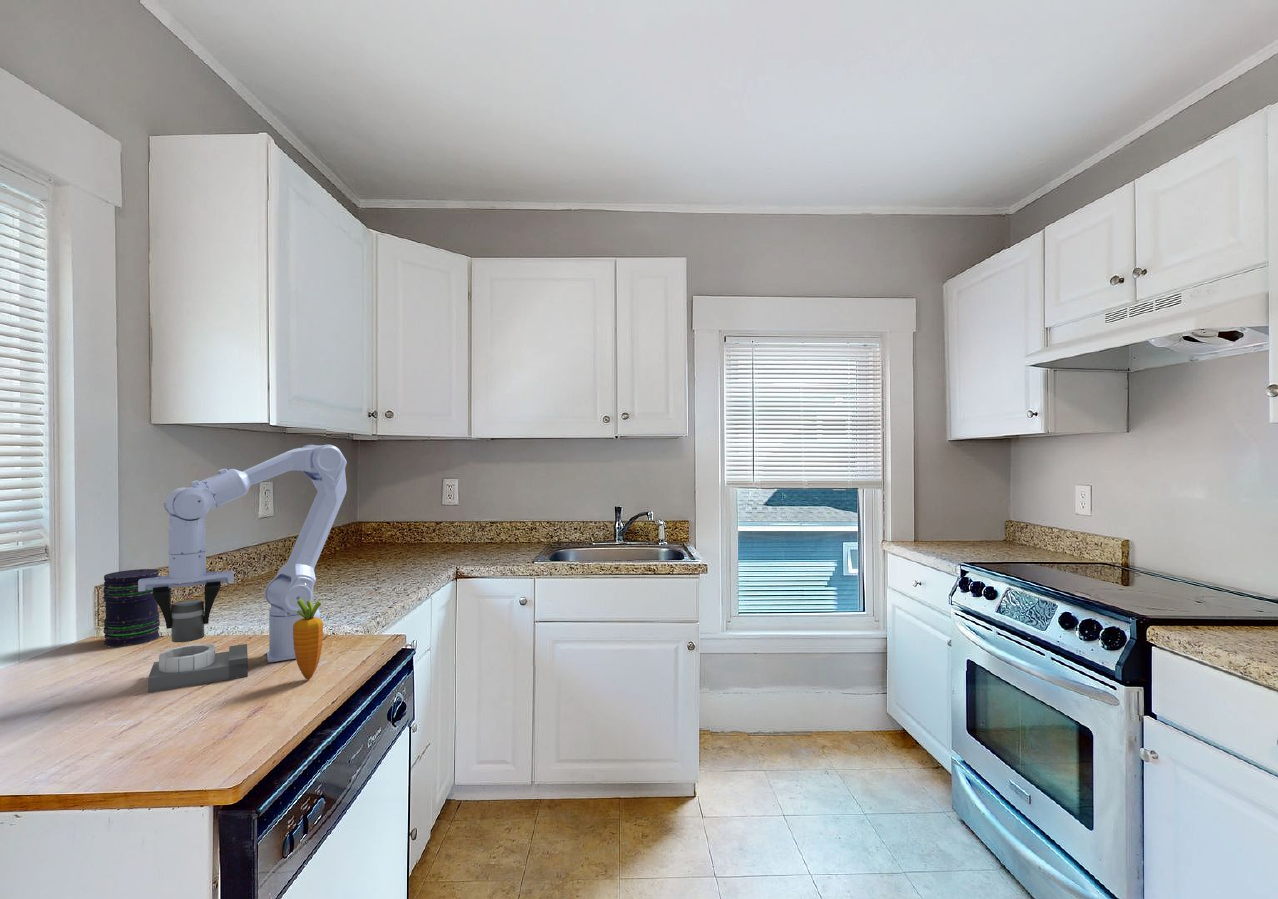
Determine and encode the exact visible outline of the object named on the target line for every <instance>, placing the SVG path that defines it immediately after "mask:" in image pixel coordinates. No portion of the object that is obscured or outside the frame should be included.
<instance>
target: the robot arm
mask: <svg viewBox="0 0 1278 899" xmlns="http://www.w3.org/2000/svg"><path fill="white" fill-rule="evenodd" d="M347 464H348V461H347V459H346V458H345V456H344V454H343V453H342V451H341V450H340V449H339V448H338V447H337V446H335V445H332V444H324V445H322V444H321V445H318V444H317V445H315V444H306V445H303V446H302V447H297V448H292V449H290V450H287V451H285V452H283V453H281V454H278V455H276V456H274V457H272V458H269V459H268V460H264V461H263V462H260V463H258V464H256V465H254V466H251V467H249V468H247V469H244V470H243V471H241V470H238V469H235V468H230V469H227V468H222V469H219V470H217V474H214V475H212V476H210V477H207V478H205V479H203V480H200V481H199V480H193V481H191V482H190V485H191V486H190V487H178V488H175V489H174V490H172V491H171V492H170V493H169V494H168V495H167V497H166V499H165V502H163V508H164V510H165V512H166V513H167V514H168V530H167V531H168V537H167V538H168V575H163V576H158V577H155V578H147V579H139V581H138V592H140V591H146V590H153V594H152V595H153V597H154V599H155V600H156V602H157V603H158V608H160V610H161V613H162V616H163V619H164V622H165V626H166V630H168V629H171V605H172V589H173V588H181V587H182V588H184V587H193V586H204V625H208V624H209V621H210V616H211V615H210V614H211V610H212V607H213V604H214V602H215V600H216V597H217V595H218V594H219V592H220V590H221V584H223V583H228V584H229V583H230V584H232V583H234V582H235V576H234V575H235V574H234V573H235V571H234V570H226V571H207V535H206V534H207V529H206V528H207V527H206V515H208V513H209V512H210V510H214V509H216V508H219V507H221V506H223V505H225V504H228V503H230V502H232V501H235V500H237V499H240V498H242V497H244V496H246V495H247V494H248V492H249V490H250V488H251V486H254V485H256V484H258V483H262V482H264V481H267V480H270V479H272V478H274V477H277V476H280V475H282V474H285V473H287V472H290V471H291V472H292V471H297V472H298V471H299V472H302V473H303V474H304V475H305V476H306V477H308V479H310V481H311V482H312V484H313V485H314V487H315V489H316V491H317V492H316V495H315V497H314V500H313V502H312V505H311V507H310V508H309V511H308V514H307V516H306V518H305V520H304V522H303V525H302V528H301V530H300V532H299V535H298V537H297V538H296V541H295V543H294V546H293V548H292V551H291V552H290V555H289V557H288V560H287V562H285V563H284V564H283V565H282V566H281V567H280V568H279V569H278V571H277V574H276V575H275V577H274V578H273V579H272V580H271V581H269V583H268V584H267V585H266V587H265V589H264V598H265V601H266V602H267V603H268V604H269V605H270V609H269V611H268V623H269V624H268V634H269V636H268V638H269V640H268V643H269V646H268V647H269V648H268V649H266V651H265V652H266V658H267V663H275V662H281V661H288V660H294V659H296V656H295V651H294V642H293V625H294V623H295V622H296V621H298V620H299V619H301V618H304V617H302V616H301V615H300V614H298V613H297V611H302V609H301V608H300V606H299V605H298V603H297V601H298V600H299V599H302V600H303V601H304V603H305V605H306V607H308V605H307V601H311V603H312V604H313V600H314V586H315V584H316V581H317V578H316V574H315V568H316V565H317V562H318V561H319V558H320V556H321V553H322V551H323V548H324V547H325V544H326V541H327V539H328V537H329V535H330V532H331V529H332V527H333V525H334V522H335V520H336V518H337V515H338V512H339V510H340V509H341V506H342V503H343V501H344V499H345V496H346V493H347V490H348V489H347V488H348V487H347V486H348V485H347V478H346V467H347ZM302 612H303V611H302ZM314 617H317V618H319V619H321V614H320V609H319V608H318V609H317V611H316V613H315V615H314Z"/></svg>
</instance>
